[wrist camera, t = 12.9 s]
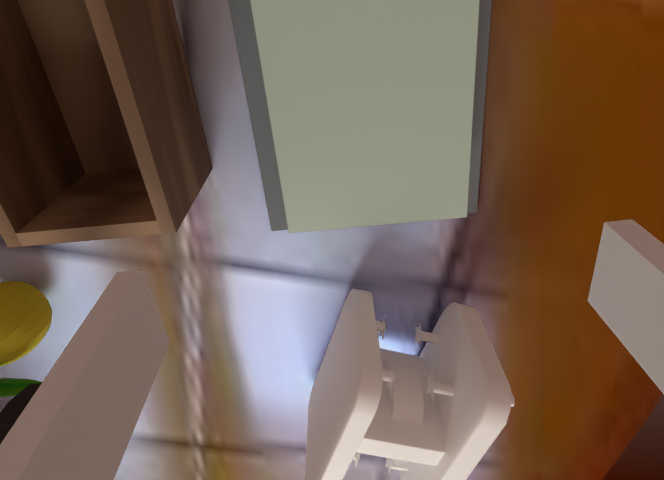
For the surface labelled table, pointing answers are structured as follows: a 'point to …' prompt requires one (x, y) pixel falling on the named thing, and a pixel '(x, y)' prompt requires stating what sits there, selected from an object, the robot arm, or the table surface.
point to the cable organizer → (406, 397)
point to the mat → (261, 118)
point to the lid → (369, 108)
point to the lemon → (20, 328)
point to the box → (95, 121)
